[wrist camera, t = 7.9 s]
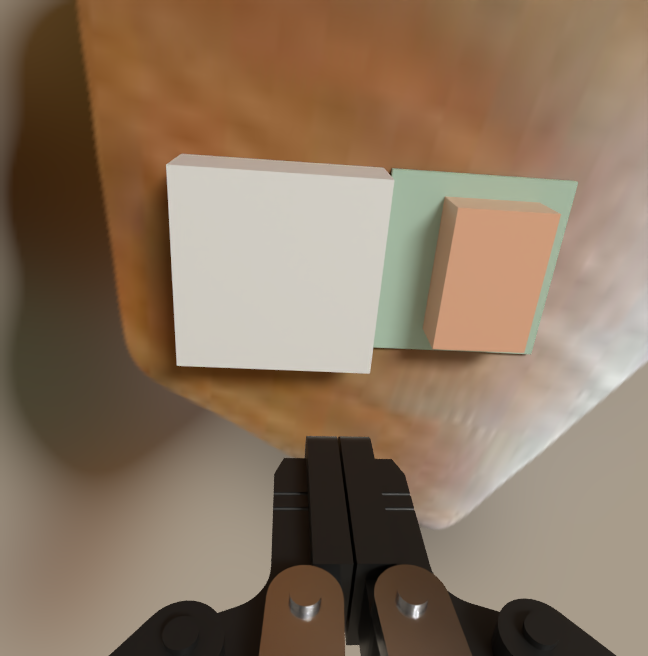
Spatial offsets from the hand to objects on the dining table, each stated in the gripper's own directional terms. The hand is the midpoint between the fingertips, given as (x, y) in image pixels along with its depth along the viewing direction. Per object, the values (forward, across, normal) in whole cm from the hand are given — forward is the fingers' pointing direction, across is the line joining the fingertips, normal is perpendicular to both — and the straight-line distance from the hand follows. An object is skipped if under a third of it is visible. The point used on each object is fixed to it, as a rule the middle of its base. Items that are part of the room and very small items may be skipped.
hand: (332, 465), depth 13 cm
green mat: (+23, -11, +3) cm, 25 cm away
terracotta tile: (+21, -11, +3) cm, 24 cm away
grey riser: (+23, +2, +3) cm, 23 cm away
